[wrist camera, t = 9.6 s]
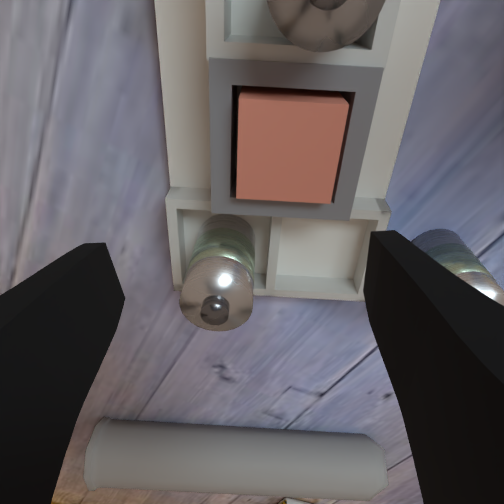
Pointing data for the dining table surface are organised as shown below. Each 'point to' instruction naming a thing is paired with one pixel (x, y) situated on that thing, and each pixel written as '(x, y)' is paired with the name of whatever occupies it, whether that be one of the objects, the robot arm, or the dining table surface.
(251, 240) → the cell
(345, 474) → the tube
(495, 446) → the robot arm
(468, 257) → the cell
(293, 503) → the medicine bottle
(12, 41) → the dining table surface
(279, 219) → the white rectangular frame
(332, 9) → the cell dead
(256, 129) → the pad
